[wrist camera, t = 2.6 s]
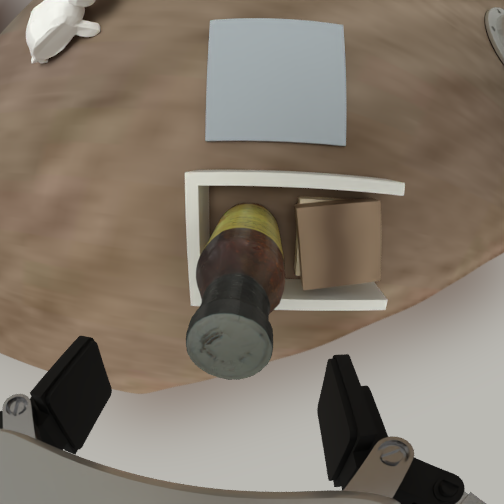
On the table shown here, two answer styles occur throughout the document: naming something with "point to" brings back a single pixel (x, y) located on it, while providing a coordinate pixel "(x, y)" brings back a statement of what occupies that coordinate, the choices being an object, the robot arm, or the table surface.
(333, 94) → the mat
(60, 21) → the white animal figurine
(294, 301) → the rack
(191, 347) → the sauce bottle
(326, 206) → the walnut offcut
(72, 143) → the table surface
